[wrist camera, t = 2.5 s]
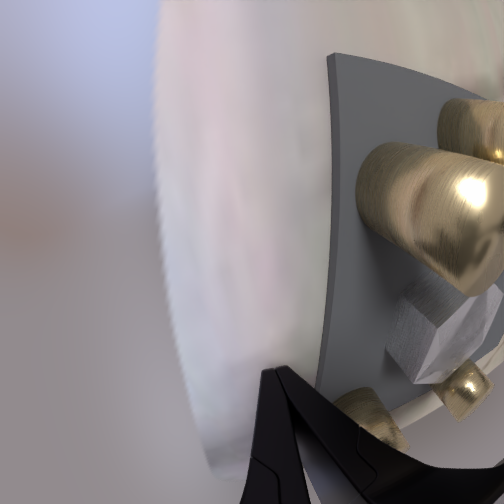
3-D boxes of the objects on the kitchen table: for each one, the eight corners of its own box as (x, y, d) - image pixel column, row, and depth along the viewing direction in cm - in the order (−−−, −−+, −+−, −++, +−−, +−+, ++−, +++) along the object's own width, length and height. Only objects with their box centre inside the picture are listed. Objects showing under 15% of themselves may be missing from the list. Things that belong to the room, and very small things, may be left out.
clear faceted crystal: (466, 230, 9) (506, 253, 7) (470, 301, 11) (499, 324, 9) (370, 316, 10) (405, 356, 8) (393, 370, 12) (417, 402, 10)
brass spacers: (543, 140, 9) (587, 155, 5) (493, 340, 15) (521, 367, 12) (352, 71, 6) (466, 48, 2) (320, 427, 13) (346, 485, 9)
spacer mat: (545, 136, 9) (550, 137, 9) (494, 342, 17) (497, 345, 16) (326, 56, 6) (334, 52, 6) (306, 434, 14) (309, 441, 13)
